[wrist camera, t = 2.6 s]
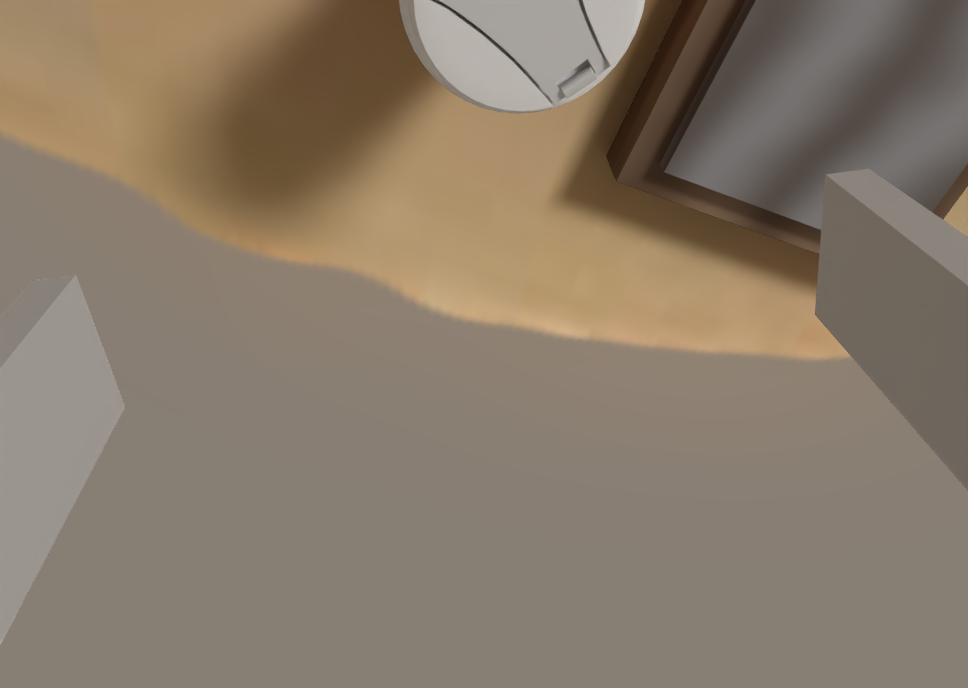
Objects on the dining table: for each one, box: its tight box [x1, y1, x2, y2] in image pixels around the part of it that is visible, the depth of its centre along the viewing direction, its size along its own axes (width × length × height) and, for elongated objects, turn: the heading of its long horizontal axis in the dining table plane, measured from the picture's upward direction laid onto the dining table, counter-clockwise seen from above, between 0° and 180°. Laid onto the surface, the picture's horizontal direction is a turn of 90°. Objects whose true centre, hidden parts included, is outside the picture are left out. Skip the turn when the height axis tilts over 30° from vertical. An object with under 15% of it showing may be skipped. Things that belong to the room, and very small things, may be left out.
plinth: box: [606, 0, 968, 254], centre depth 40 cm, size 16×16×4 cm
